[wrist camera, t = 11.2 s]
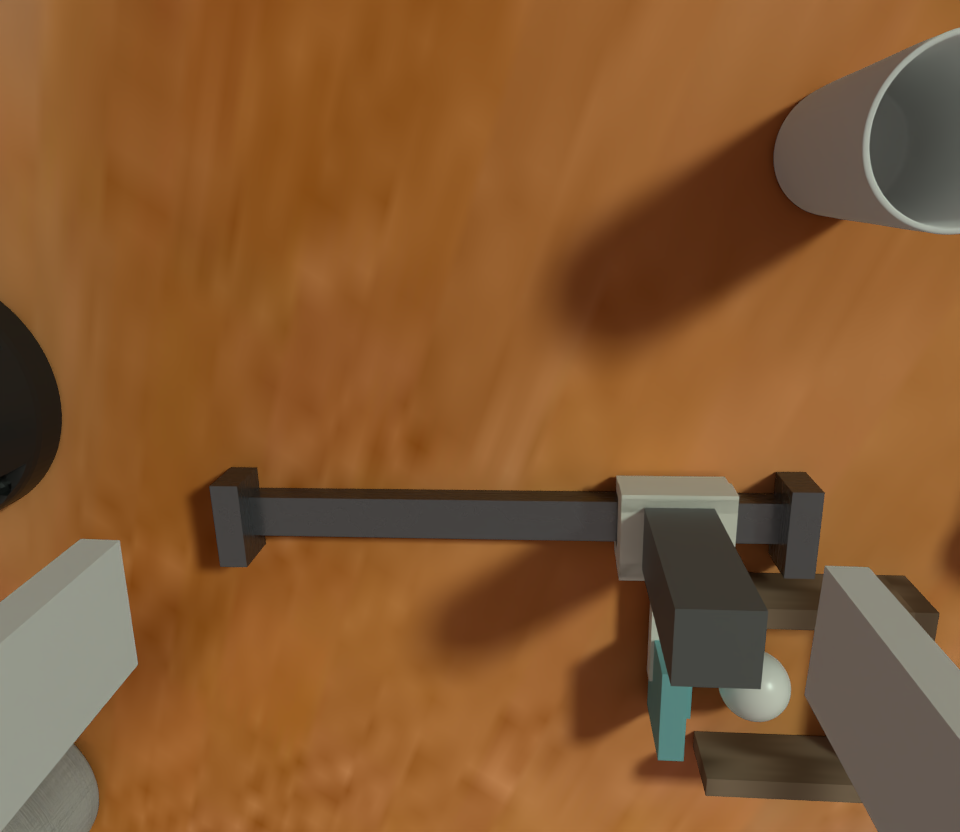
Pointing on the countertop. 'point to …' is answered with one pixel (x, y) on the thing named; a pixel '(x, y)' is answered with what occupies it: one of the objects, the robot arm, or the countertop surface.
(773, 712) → the ball
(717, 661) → the carriage
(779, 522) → the rail
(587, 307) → the countertop surface
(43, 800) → the planter
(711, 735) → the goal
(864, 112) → the mug
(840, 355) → the countertop surface
